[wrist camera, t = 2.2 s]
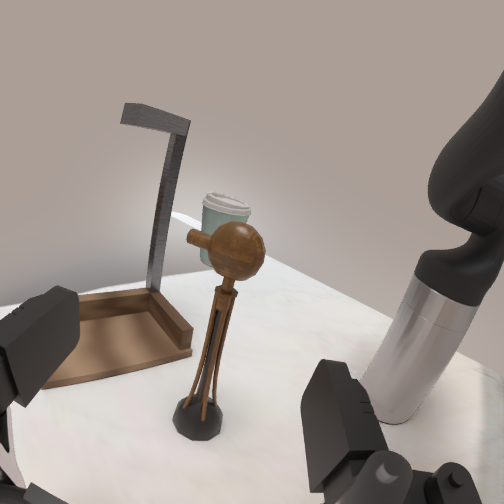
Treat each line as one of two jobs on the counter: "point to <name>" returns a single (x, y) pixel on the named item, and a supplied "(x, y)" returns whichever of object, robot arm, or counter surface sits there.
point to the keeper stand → (135, 300)
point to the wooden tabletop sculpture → (218, 320)
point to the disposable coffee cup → (221, 215)
